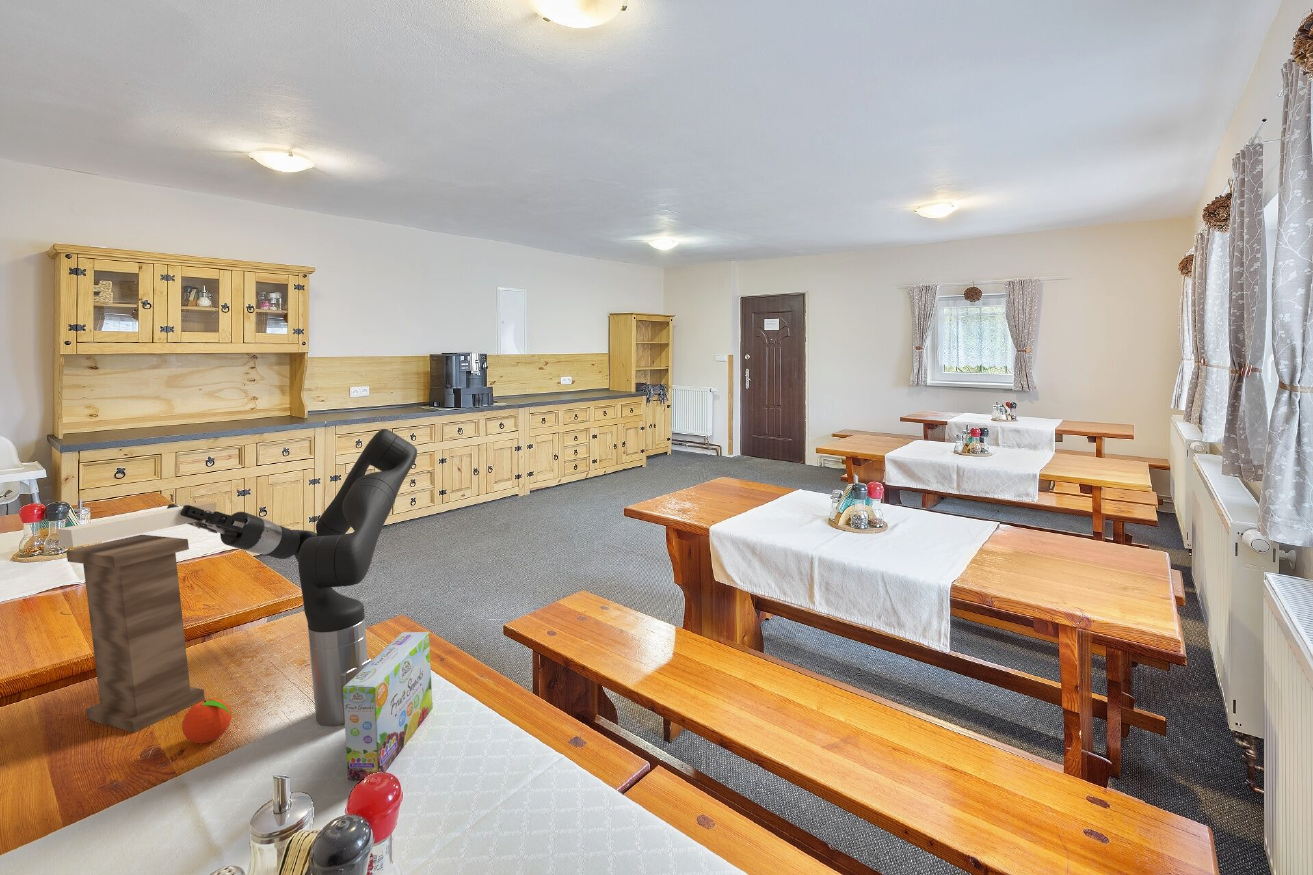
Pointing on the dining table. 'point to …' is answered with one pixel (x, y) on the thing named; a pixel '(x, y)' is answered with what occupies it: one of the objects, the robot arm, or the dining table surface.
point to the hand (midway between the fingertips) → (176, 509)
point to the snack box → (387, 704)
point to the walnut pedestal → (136, 630)
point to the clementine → (206, 721)
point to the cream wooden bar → (127, 525)
